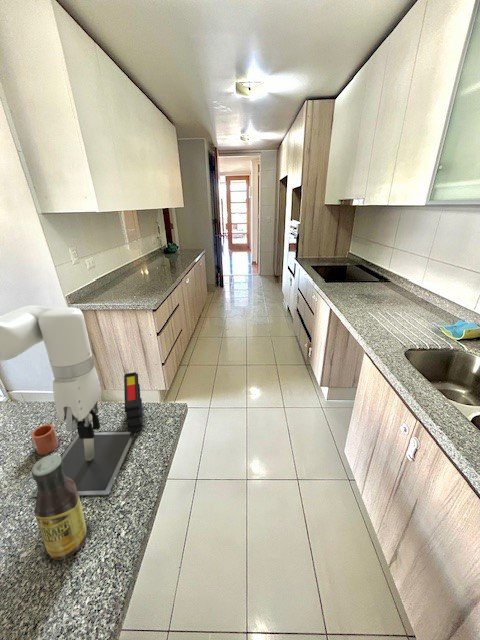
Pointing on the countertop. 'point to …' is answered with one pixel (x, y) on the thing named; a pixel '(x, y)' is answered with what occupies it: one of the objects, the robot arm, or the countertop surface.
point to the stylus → (89, 443)
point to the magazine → (133, 402)
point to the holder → (44, 439)
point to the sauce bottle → (58, 508)
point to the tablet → (96, 462)
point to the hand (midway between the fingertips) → (90, 432)
